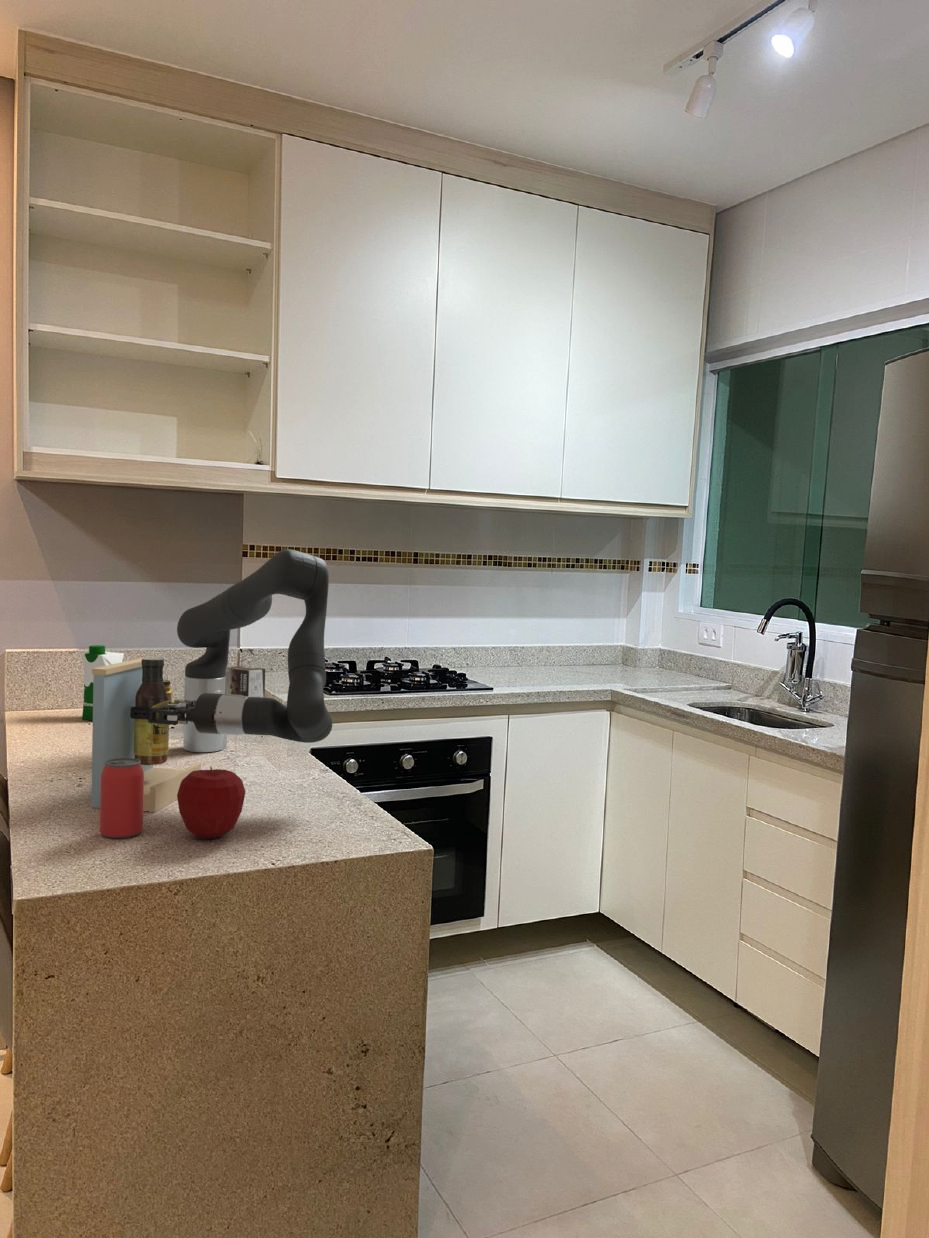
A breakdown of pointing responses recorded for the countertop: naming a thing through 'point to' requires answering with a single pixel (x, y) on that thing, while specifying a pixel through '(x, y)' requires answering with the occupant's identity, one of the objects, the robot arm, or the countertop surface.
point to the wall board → (125, 734)
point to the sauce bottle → (154, 736)
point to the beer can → (121, 798)
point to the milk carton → (90, 661)
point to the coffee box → (245, 681)
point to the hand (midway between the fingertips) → (139, 709)
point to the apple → (210, 802)
